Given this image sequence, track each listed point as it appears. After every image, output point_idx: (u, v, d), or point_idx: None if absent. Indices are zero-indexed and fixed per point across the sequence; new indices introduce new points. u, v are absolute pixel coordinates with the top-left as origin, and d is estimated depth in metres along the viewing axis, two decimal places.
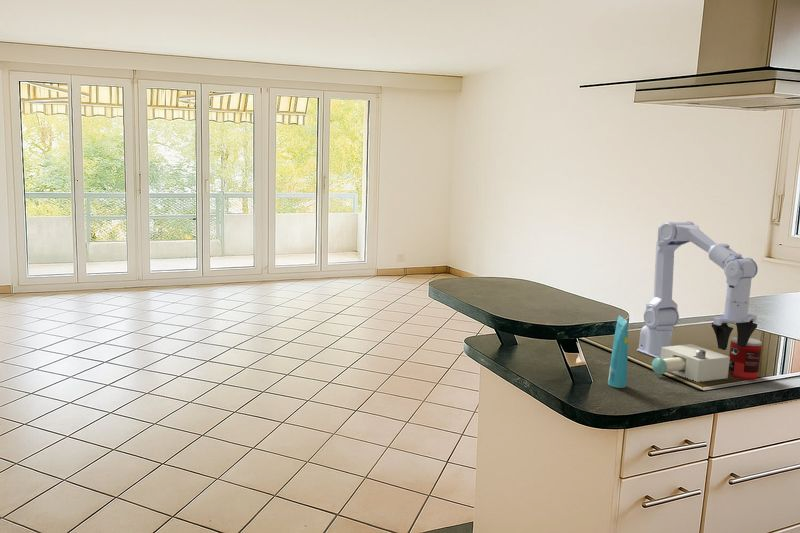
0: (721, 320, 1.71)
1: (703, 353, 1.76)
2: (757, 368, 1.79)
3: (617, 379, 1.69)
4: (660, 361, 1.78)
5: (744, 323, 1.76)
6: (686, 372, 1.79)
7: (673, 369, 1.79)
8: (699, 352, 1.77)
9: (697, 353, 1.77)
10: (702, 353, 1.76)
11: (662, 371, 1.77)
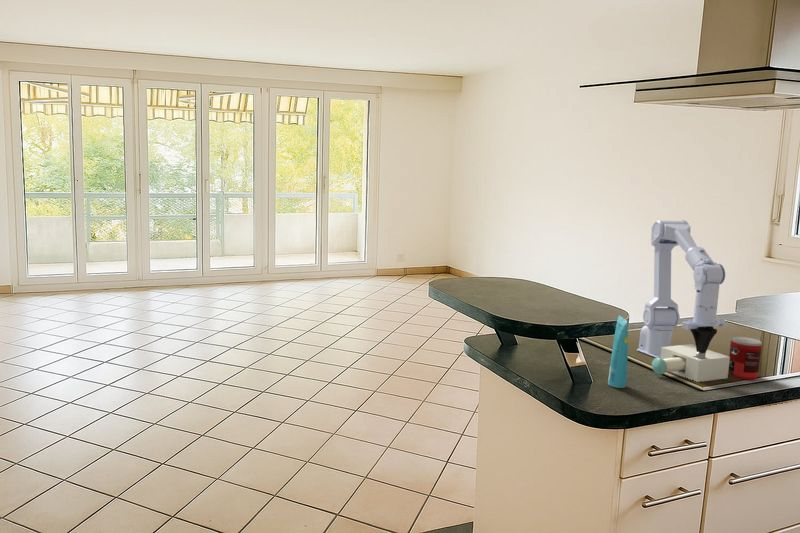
0: (689, 325, 1.73)
1: (703, 354, 1.77)
2: (757, 368, 1.79)
3: (617, 379, 1.69)
4: (660, 361, 1.78)
5: None
6: (686, 372, 1.79)
7: (673, 369, 1.79)
8: (699, 353, 1.77)
9: (697, 354, 1.78)
10: (702, 355, 1.77)
11: (662, 371, 1.77)
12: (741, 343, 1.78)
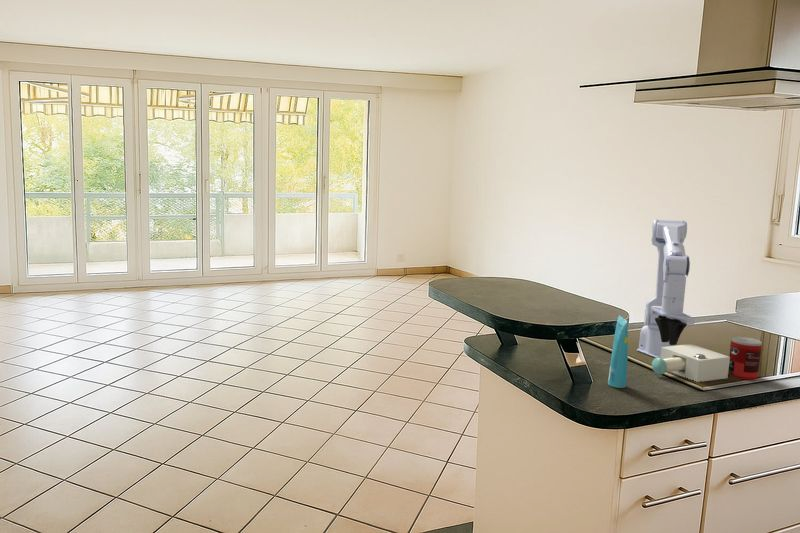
0: (652, 309, 1.83)
1: (703, 358, 1.77)
2: (757, 368, 1.79)
3: (617, 379, 1.69)
4: (660, 361, 1.78)
5: None
6: (686, 372, 1.79)
7: (673, 369, 1.79)
8: (699, 357, 1.77)
9: None
10: (701, 358, 1.77)
11: (662, 371, 1.77)
12: (741, 343, 1.78)
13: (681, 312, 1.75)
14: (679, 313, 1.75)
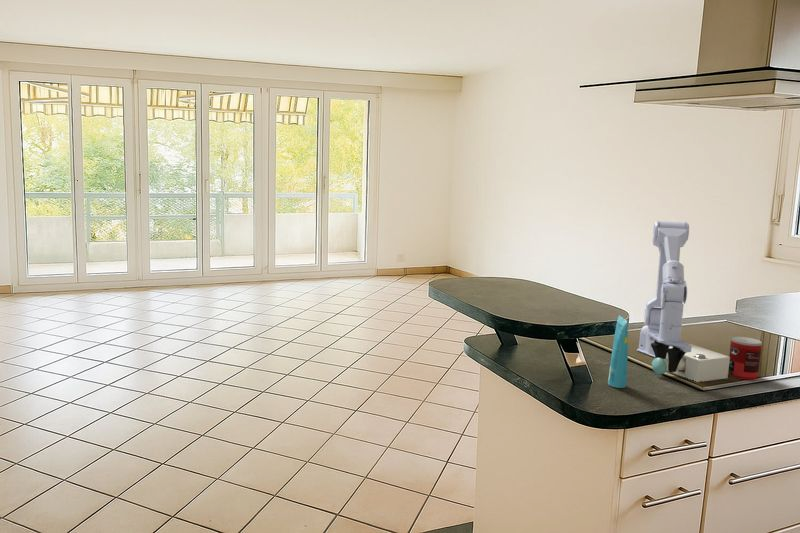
0: (649, 335, 1.84)
1: (703, 358, 1.77)
2: (757, 368, 1.79)
3: (617, 379, 1.69)
4: (660, 361, 1.78)
5: None
6: (686, 372, 1.79)
7: None
8: (699, 357, 1.77)
9: None
10: (701, 358, 1.77)
11: (662, 371, 1.77)
12: (741, 343, 1.78)
13: (678, 339, 1.76)
14: (676, 340, 1.76)
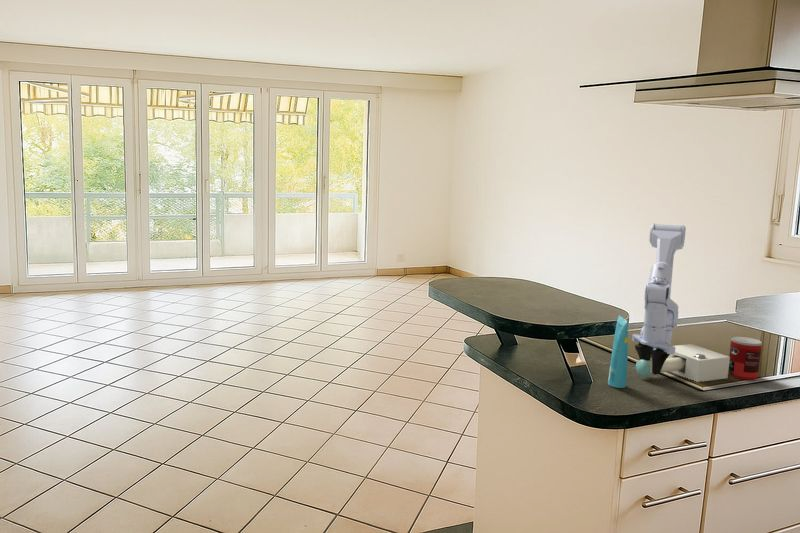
0: (633, 336, 1.82)
1: (703, 358, 1.77)
2: (757, 368, 1.79)
3: (617, 379, 1.69)
4: (644, 363, 1.76)
5: None
6: (686, 372, 1.79)
7: None
8: (699, 357, 1.77)
9: None
10: (701, 358, 1.77)
11: (646, 373, 1.75)
12: (741, 343, 1.78)
13: (662, 340, 1.74)
14: (660, 342, 1.74)
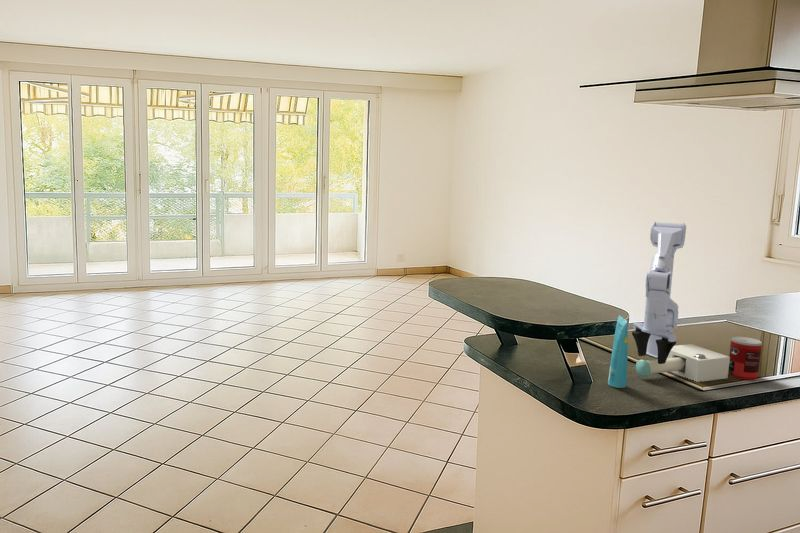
0: (635, 324, 1.82)
1: (703, 358, 1.77)
2: (757, 368, 1.79)
3: (617, 379, 1.69)
4: (644, 363, 1.76)
5: None
6: (686, 372, 1.79)
7: (657, 371, 1.77)
8: (699, 357, 1.77)
9: None
10: (701, 358, 1.77)
11: (646, 373, 1.75)
12: (741, 343, 1.78)
13: (663, 328, 1.74)
14: (661, 329, 1.73)
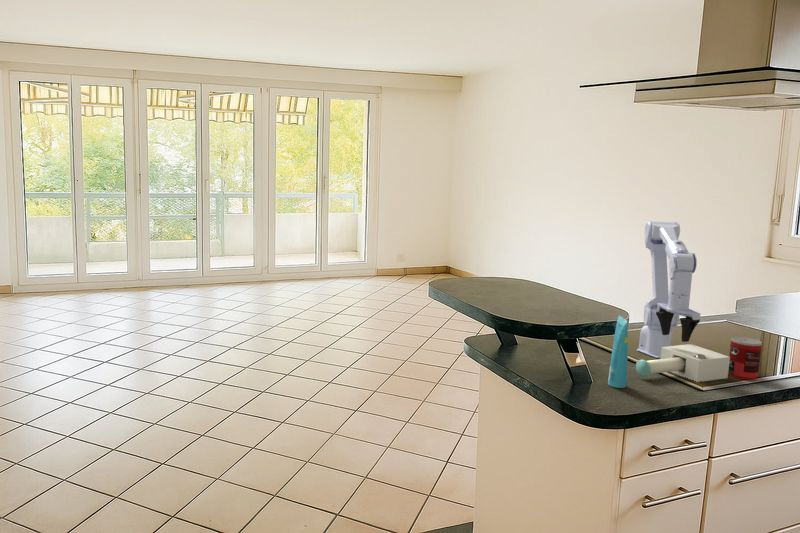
0: (658, 305, 1.89)
1: (703, 358, 1.77)
2: (757, 368, 1.79)
3: (617, 379, 1.69)
4: (644, 363, 1.76)
5: None
6: (686, 372, 1.79)
7: (657, 371, 1.77)
8: (699, 357, 1.77)
9: None
10: (701, 358, 1.77)
11: (646, 373, 1.75)
12: (741, 343, 1.78)
13: (687, 307, 1.81)
14: (685, 309, 1.81)
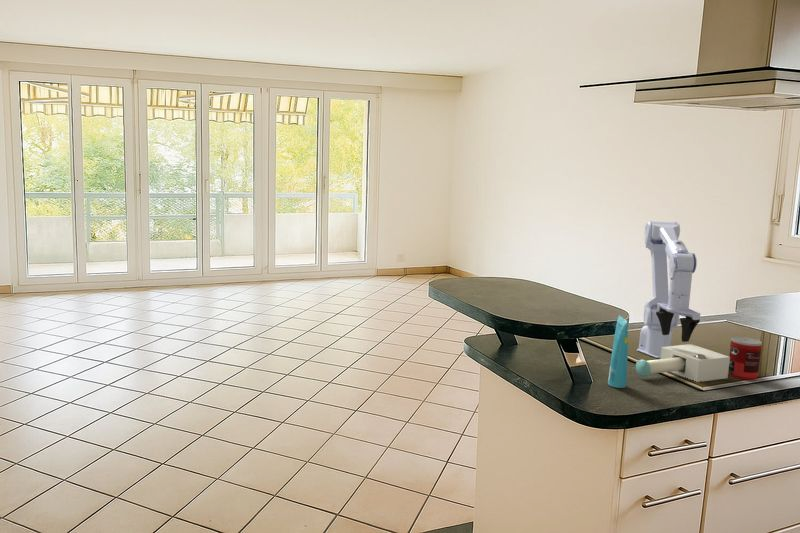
0: (658, 305, 1.89)
1: (703, 358, 1.77)
2: (757, 368, 1.79)
3: (617, 379, 1.69)
4: (644, 363, 1.76)
5: None
6: (686, 372, 1.79)
7: (657, 371, 1.77)
8: (699, 357, 1.77)
9: None
10: (701, 358, 1.77)
11: (646, 373, 1.75)
12: (741, 343, 1.78)
13: (687, 307, 1.81)
14: (685, 309, 1.81)
